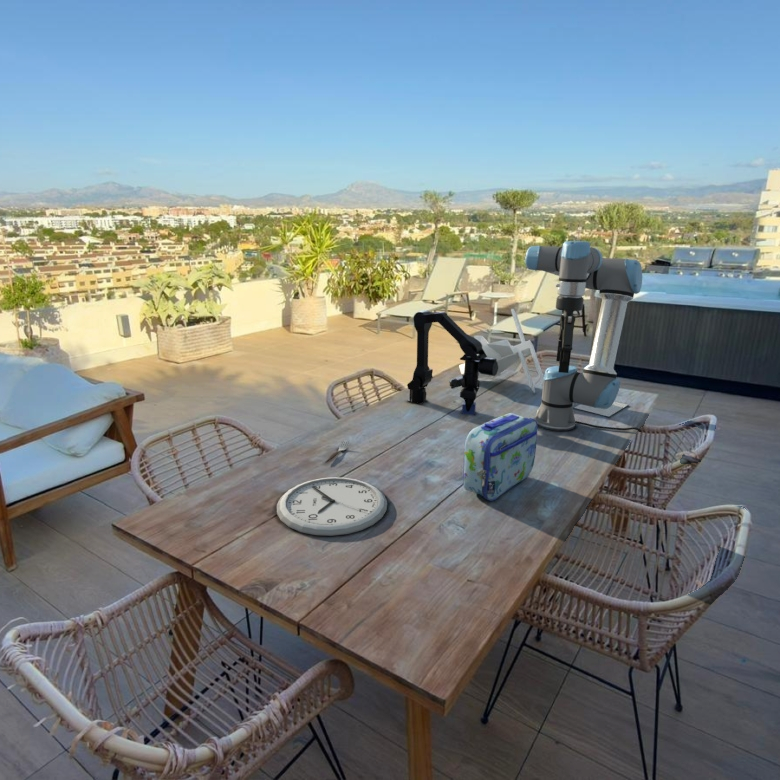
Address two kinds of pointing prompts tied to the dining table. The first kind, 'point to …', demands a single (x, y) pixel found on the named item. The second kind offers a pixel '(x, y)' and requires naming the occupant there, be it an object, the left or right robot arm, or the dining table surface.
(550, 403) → the right robot arm
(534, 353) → the white plastic object
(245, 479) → the dining table surface
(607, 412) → the invitation card
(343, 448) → the fork
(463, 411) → the brick
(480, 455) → the lunch box
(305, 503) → the wall clock
